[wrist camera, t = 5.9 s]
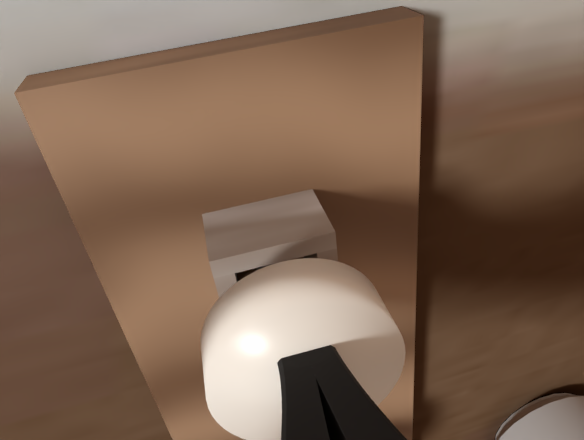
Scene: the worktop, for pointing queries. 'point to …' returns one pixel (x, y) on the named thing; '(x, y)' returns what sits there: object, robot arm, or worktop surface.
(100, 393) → the worktop surface
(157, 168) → the stand
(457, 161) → the worktop surface
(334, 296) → the plunger
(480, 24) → the worktop surface
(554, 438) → the can
